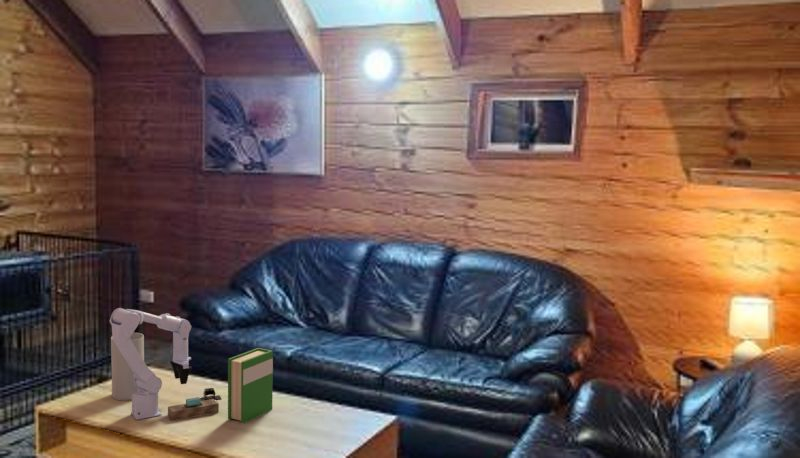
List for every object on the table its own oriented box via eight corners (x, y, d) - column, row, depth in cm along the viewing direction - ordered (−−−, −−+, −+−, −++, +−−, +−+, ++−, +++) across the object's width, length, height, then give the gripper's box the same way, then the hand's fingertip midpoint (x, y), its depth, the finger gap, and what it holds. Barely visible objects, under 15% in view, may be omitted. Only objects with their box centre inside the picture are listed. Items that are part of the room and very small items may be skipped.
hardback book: (242, 423, 270) (243, 362, 267) (227, 419, 273) (228, 358, 270) (272, 409, 285) (272, 350, 282) (257, 405, 289) (258, 347, 286)
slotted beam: (172, 420, 271) (172, 411, 270) (167, 415, 276) (167, 406, 275) (218, 412, 280) (218, 403, 280) (213, 407, 285) (213, 398, 285)
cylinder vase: (111, 392, 298) (110, 334, 295) (142, 388, 303) (142, 331, 300) (112, 402, 287) (111, 342, 284) (145, 398, 292) (145, 339, 289)
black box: (195, 404, 289) (195, 394, 288) (192, 398, 295) (192, 388, 295) (226, 401, 294) (226, 390, 293) (223, 395, 301) (223, 384, 300)
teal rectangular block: (187, 416, 276) (187, 401, 275) (185, 414, 278) (185, 399, 277) (200, 413, 278) (200, 399, 278) (198, 411, 280) (198, 397, 280)
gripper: (196, 351, 282) (196, 384, 283) (185, 342, 294) (185, 374, 295) (178, 353, 278) (178, 387, 279) (167, 344, 290) (168, 376, 291)
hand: (180, 381), depth 287 cm, fingers open, 7 cm apart
